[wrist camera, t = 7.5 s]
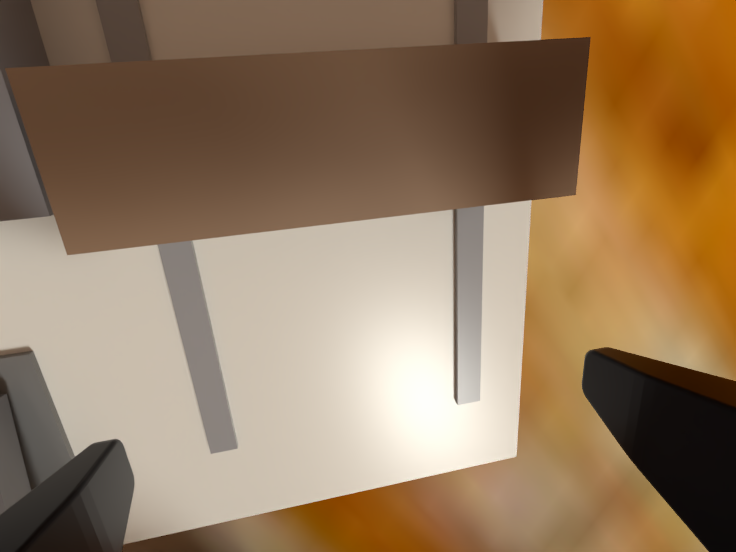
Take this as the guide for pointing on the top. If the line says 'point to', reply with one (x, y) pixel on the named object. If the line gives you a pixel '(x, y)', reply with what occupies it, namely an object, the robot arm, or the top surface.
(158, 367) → the panel
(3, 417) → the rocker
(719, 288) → the top surface
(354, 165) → the slider bar
